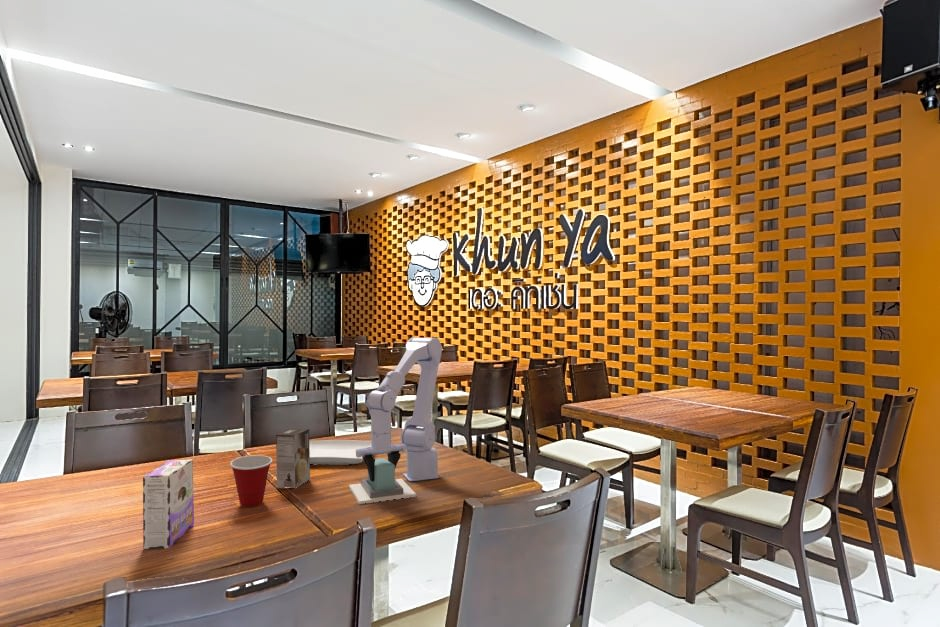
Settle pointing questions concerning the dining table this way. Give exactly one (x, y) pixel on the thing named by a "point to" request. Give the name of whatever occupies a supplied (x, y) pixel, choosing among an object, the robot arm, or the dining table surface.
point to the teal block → (383, 475)
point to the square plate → (336, 451)
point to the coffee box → (292, 458)
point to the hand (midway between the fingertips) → (381, 479)
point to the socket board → (380, 492)
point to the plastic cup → (251, 478)
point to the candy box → (167, 504)
